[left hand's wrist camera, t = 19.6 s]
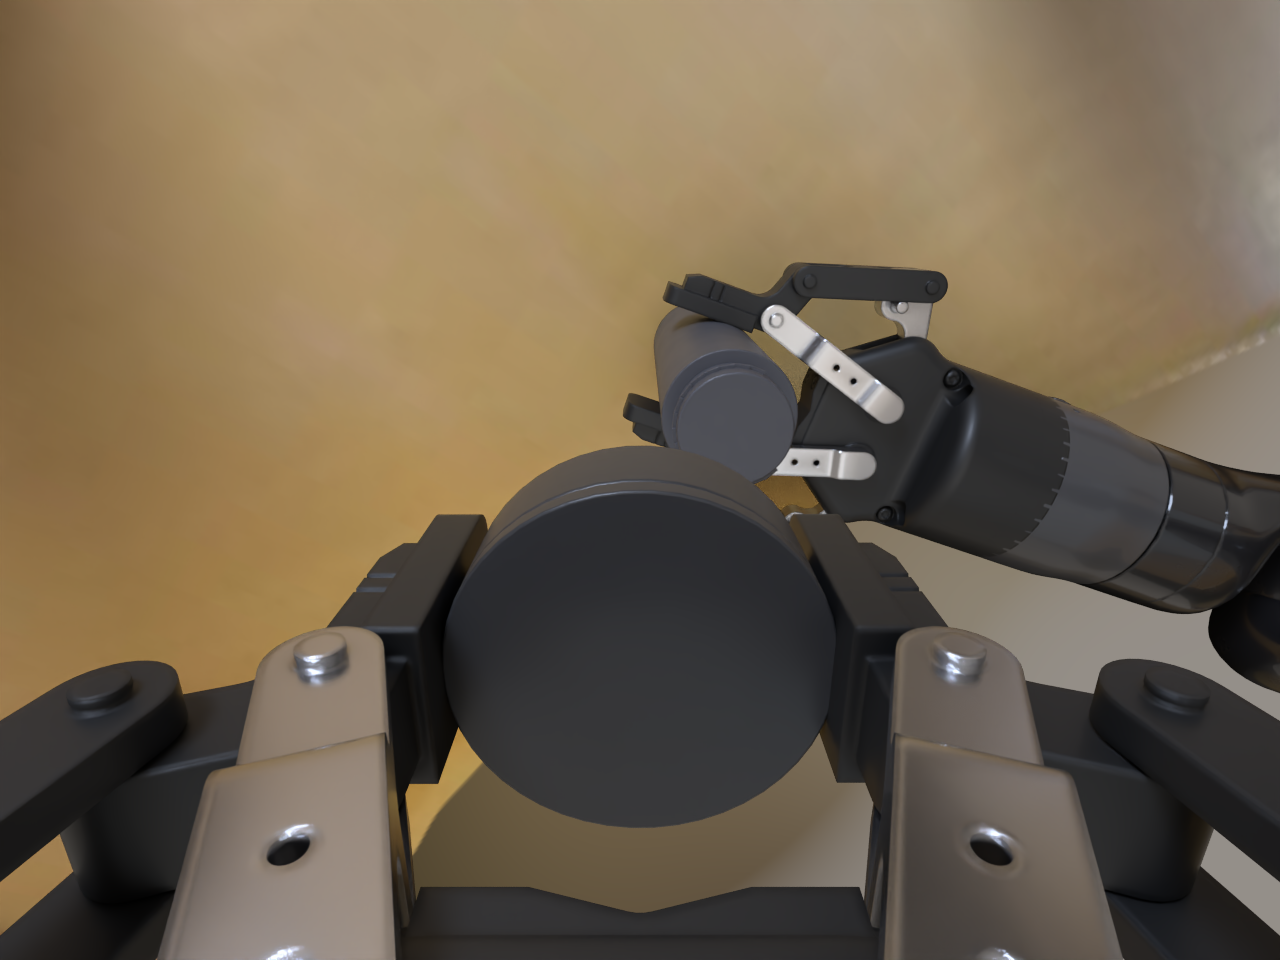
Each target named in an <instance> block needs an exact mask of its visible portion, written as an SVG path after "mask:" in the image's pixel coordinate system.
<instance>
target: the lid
mask: <svg viewBox="0 0 1280 960" xmlns="http://www.w3.org/2000/svg"><path fill="white" fill-rule="evenodd" d="M835 645H836V626H835V621H834V617H833V614H832V612H831V609H830V606H829V604H828V601H827V598H826V596H825V594H824V592H823V590H822V588H821V586H820V584H819V582H818V580H817V578H816V575H815V573H814V571H813V569H812V567H811V565H810V563H809V561H808V559H807V557H806V555H805V553H804V551H803V549H802V547H801V545H800V543H799V541H798V539H797V537H796V535H795V533H794V532H793V530H792V528H791V526H790V525H789V523H788V521H787V519H786V518H785V517H784V515H783V514H782V513H781V512H780V510H779V509H778V508H777V506H776V505H775V504H774V503H773V501H771V500H770V499H769V498H768V497H767V496H766V495H765V494H764V493H763V492H762V491H761V490H760V489H759V488H758V487H757V486H756V485H754V484H753V483H751V482H750V481H749V480H747V479H746V478H745V477H743V476H742V475H740V474H739V473H737V472H735V471H734V470H732V469H730V468H728V467H726V466H724V465H723V464H721V463H719V462H716V461H714V460H711V459H708V458H706V457H703V456H701V455H698V454H694V453H690V452H686V451H682V450H678V449H674V448H665V447H656V446H623V447H616V448H609V449H602V450H598V451H595V452H591V453H587V454H584V455H580V456H577V457H575V458H572V459H570V460H568V461H565V462H563V463H560V464H558V465H556V466H554V467H553V468H551V469H549V470H548V471H546V472H544V473H542V474H541V475H539V476H537V477H536V478H535V479H533V480H532V481H531V482H530V483H528V484H527V485H526V486H524V487H523V488H522V489H520V491H519V492H518V493H517V494H516V495H515V496H514V497H513V498H512V499H511V500H510V501H509V502H508V503H507V504H506V505H505V506H504V507H503V509H502V510H501V511H500V513H499V514H498V515H497V517H496V518H495V520H494V521H493V522H492V524H491V526H490V528H489V530H488V532H487V534H486V535H485V537H484V539H483V541H482V543H481V545H480V547H479V549H478V551H477V553H476V555H475V557H474V559H473V562H472V564H471V566H470V568H469V570H468V572H467V574H466V576H465V578H464V580H463V582H462V584H461V586H460V588H459V590H458V592H457V594H456V596H455V598H454V601H453V604H452V606H451V609H450V612H449V615H448V618H447V621H446V626H445V631H444V637H443V642H442V665H443V674H444V683H445V691H446V694H447V698H448V702H449V705H450V709H451V711H452V713H453V716H454V718H455V720H456V722H457V724H458V727H459V729H460V731H461V732H462V734H463V735H464V737H465V739H466V740H467V742H468V743H469V745H470V747H471V748H472V749H473V751H474V752H475V753H476V754H477V755H478V757H479V758H480V759H481V760H482V761H483V763H484V764H485V765H486V766H487V767H488V768H489V769H490V770H491V771H492V772H494V773H495V774H496V775H497V776H498V777H499V778H500V779H501V780H502V781H504V782H505V783H506V784H508V785H509V786H510V787H512V788H513V789H515V790H516V791H517V792H519V793H520V794H522V795H523V796H525V797H527V798H529V799H531V800H532V801H534V802H536V803H538V804H539V805H542V806H544V807H546V808H548V809H551V810H553V811H555V812H558V813H560V814H563V815H566V816H569V817H573V818H576V819H579V820H582V821H586V822H592V823H596V824H602V825H607V826H617V827H628V828H655V827H664V826H673V825H680V824H684V823H689V822H694V821H699V820H702V819H705V818H709V817H712V816H715V815H718V814H721V813H724V812H726V811H728V810H730V809H732V808H735V807H737V806H739V805H741V804H744V803H745V802H747V801H749V800H750V799H752V798H754V797H756V796H757V795H759V794H761V793H762V792H764V791H765V790H767V789H768V788H769V787H770V786H772V785H773V784H775V783H776V782H777V781H778V780H780V779H781V778H782V777H783V776H784V775H785V774H786V773H787V772H788V771H790V770H791V769H792V768H793V767H794V766H795V765H796V764H797V763H798V762H799V760H800V759H801V758H802V757H803V755H804V754H805V753H806V752H807V750H808V749H809V748H810V747H811V745H812V744H813V742H814V740H815V739H816V737H817V735H818V734H819V732H820V730H821V729H822V727H823V725H824V723H825V720H826V718H827V715H828V708H829V699H830V690H831V681H832V672H833V663H834V654H835Z"/></svg>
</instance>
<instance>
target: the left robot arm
mask: <svg viewBox="0 0 1280 960" xmlns="http://www.w3.org/2000/svg"><path fill="white" fill-rule="evenodd" d="M789 525H790V526H791V528H792V530H793V532H794V533H795V535H796V537H797V539H798V541H799V543H800V545H801V547H802V549H803V551H804V553H805V555H806V557H807V559H808V561H809V563H810V565H811V567H812V569H813V571H814V573H815V575H816V578H817V580H818V582H819V584H820V586H821V588H822V590H823V592H824V594H825V596H826V598H827V601H828V604H829V606H830V609H831V612H832V614H833V617H834V621H835V626H836V645H835V654H834V663H833V672H832V681H831V690H830V699H829V708H828V715H827V718H826V720H825V723H824V725H823V727H822V729H821V730H820V732H819V733H820V735H821V738H822V741H823V744H824V747H825V750H826V753H827V756H828V759H829V761H830V764H831V767H832V770H833V773H834V776H835V779H836V781H837V783H866V786H867V788H868V791H869V793H870V796H871V798H872V801H873V810H872V817H871V825H870V837H869V849H868V860H867V872H866V884H865V896H864V900H863V897H862V894H861V891H860V888H859V887H750V888H746V889H742V890H738V891H733V892H729V893H725V894H721V895H717V896H714V897H709V898H705V899H701V900H697V901H693V902H689V903H685V904H681V905H677V906H673V907H669V908H665V909H661V910H657V911H653V912H647V913H634V912H628V911H624V910H619V909H615V908H611V907H607V906H603V905H599V904H595V903H591V902H587V901H583V900H579V899H575V898H571V897H567V896H563V895H559V894H555V893H550V892H547V891H542V890H538V889H534V888H530V887H421V888H420V891H419V894H418V897H417V900H416V896H415V884H414V872H413V860H412V848H411V837H410V825H409V817H408V810H407V803H406V796H405V793H406V791H407V789H408V786H409V784H438V783H439V780H440V777H441V774H442V771H443V769H444V766H445V763H446V760H447V757H448V755H449V752H450V749H451V746H452V743H453V741H454V738H455V735H456V732H457V729H458V724H457V722H456V720H455V718H454V716H453V713H452V711H451V709H450V705H449V702H448V698H447V694H446V691H445V683H444V674H443V665H442V642H443V637H444V631H445V626H446V621H447V618H448V615H449V612H450V609H451V606H452V604H453V601H454V598H455V596H456V594H457V592H458V590H459V588H460V586H461V584H462V582H463V580H464V578H465V576H466V574H467V572H468V570H469V568H470V566H471V564H472V562H473V559H474V557H475V555H476V553H477V551H478V549H479V547H480V545H481V543H482V541H483V539H484V537H485V535H486V534H487V532H488V528H487V523H486V519H485V517H484V515H437V516H436V517H435V518H434V520H433V521H432V523H431V524H430V526H429V527H428V528H427V530H426V531H425V533H424V534H423V536H422V537H421V539H420V540H419V542H418V543H404V544H402V545H400V546H399V547H397V548H395V549H394V550H392V551H390V552H389V553H387V554H385V555H384V556H382V557H380V558H379V560H378V561H377V562H376V564H375V565H374V566H373V568H372V569H371V570H370V571H369V573H368V574H367V578H364V579H363V581H362V582H361V583H360V585H359V586H358V587H357V588H356V592H353V594H352V595H351V596H350V598H349V599H348V600H347V602H346V603H345V604H344V605H343V607H342V608H341V609H340V611H339V612H338V613H337V615H336V616H335V617H334V618H333V620H332V621H331V622H330V624H329V625H328V626H327V628H323V629H318V630H314V631H311V632H307V633H304V634H301V635H299V636H296V637H294V638H291V639H289V640H287V641H285V642H284V643H282V644H280V645H279V646H277V647H275V648H274V649H273V650H272V651H270V652H269V653H268V654H267V655H266V656H265V657H264V658H263V659H262V661H261V662H260V664H259V666H258V669H257V672H256V677H255V680H252V681H249V682H245V683H241V684H236V685H231V686H226V687H221V688H215V689H210V690H205V691H199V692H194V693H189V694H183V693H182V689H181V685H180V682H179V678H178V674H177V672H176V670H175V669H174V668H173V667H171V666H170V665H167V664H165V663H161V662H157V661H132V662H124V663H119V664H114V665H110V666H106V667H102V668H99V669H96V670H93V671H90V672H87V673H84V674H82V675H79V676H77V677H75V678H72V679H70V680H68V681H66V682H64V683H62V684H60V685H59V686H57V687H55V688H53V689H52V690H50V691H48V692H47V693H45V694H43V695H42V696H40V697H38V698H37V699H35V700H34V701H32V702H30V703H29V704H27V705H25V706H24V707H22V708H21V709H19V710H17V711H16V712H14V713H12V714H11V715H9V716H7V717H6V718H4V719H3V720H1V721H0V882H1V881H2V880H3V879H4V878H6V877H7V876H8V875H9V874H11V873H12V872H13V871H14V870H16V869H17V868H18V867H19V866H20V865H22V864H23V863H24V862H25V861H27V860H28V859H29V858H30V857H32V856H33V855H34V854H35V853H37V852H38V851H39V850H40V849H41V848H43V847H44V846H45V845H46V844H48V843H49V842H50V841H51V840H53V839H54V838H55V837H56V836H58V835H59V834H60V836H61V839H62V842H63V844H64V847H65V850H66V853H67V855H68V858H69V861H70V863H71V866H72V869H73V871H74V872H72V873H71V874H70V875H69V876H68V877H67V878H66V879H64V880H63V881H62V882H61V883H60V884H59V885H58V886H56V887H55V888H54V889H53V890H52V891H51V892H50V893H48V894H47V895H46V896H45V897H44V898H43V899H42V900H40V901H39V902H38V903H37V904H36V905H35V906H34V907H32V908H31V909H30V910H29V911H28V912H27V913H26V914H24V915H23V916H22V917H21V918H20V919H19V920H18V921H16V922H15V923H14V924H13V925H12V926H11V927H10V928H8V929H7V930H6V931H5V932H4V933H3V934H2V935H0V960H156V958H157V960H1123V958H1124V960H1280V936H1279V935H1278V934H1277V933H1276V932H1275V931H1274V930H1273V929H1272V928H1270V927H1269V926H1268V925H1267V924H1266V923H1265V922H1264V921H1262V920H1261V919H1260V918H1259V917H1258V916H1257V915H1256V914H1254V913H1253V912H1252V911H1251V910H1250V909H1249V908H1248V907H1246V906H1245V905H1244V904H1243V903H1242V902H1241V901H1240V900H1238V899H1237V898H1236V897H1235V896H1234V895H1233V894H1232V893H1230V892H1229V891H1228V890H1227V889H1226V888H1225V887H1224V886H1222V885H1221V884H1220V883H1219V882H1218V881H1217V880H1216V879H1214V878H1213V877H1212V876H1211V875H1210V874H1209V873H1208V872H1206V871H1205V870H1204V869H1203V868H1202V867H1201V866H1200V865H1201V863H1202V860H1203V857H1204V855H1205V852H1206V849H1207V846H1208V844H1209V841H1210V838H1211V835H1212V833H1213V830H1214V829H1215V830H1216V831H1218V832H1219V833H1220V834H1221V835H1223V836H1224V837H1225V838H1226V839H1227V840H1229V841H1230V842H1231V843H1232V844H1234V845H1235V846H1236V847H1237V848H1239V849H1240V850H1241V851H1242V852H1244V853H1245V854H1246V855H1247V856H1248V857H1250V858H1251V859H1252V860H1253V861H1255V862H1256V863H1257V864H1258V865H1260V866H1261V867H1262V868H1263V869H1264V870H1266V871H1267V872H1268V873H1269V874H1271V875H1272V876H1273V877H1274V878H1276V879H1277V880H1278V881H1279V882H1280V721H1279V720H1277V719H1276V718H1274V717H1273V716H1271V715H1269V714H1268V713H1266V712H1264V711H1263V710H1261V709H1259V708H1258V707H1256V706H1255V705H1253V704H1251V703H1250V702H1248V701H1246V700H1245V699H1243V698H1241V697H1240V696H1238V695H1237V694H1235V693H1233V692H1232V691H1230V690H1228V689H1227V688H1225V687H1223V686H1222V685H1220V684H1218V683H1216V682H1215V681H1213V680H1211V679H1208V678H1206V677H1204V676H1202V675H1200V674H1197V673H1195V672H1192V671H1190V670H1187V669H1184V668H1181V667H1178V666H1175V665H1171V664H1167V663H1162V662H1157V661H1152V660H1143V659H1122V660H1116V661H1113V662H1110V663H1108V664H1106V665H1105V666H1104V667H1103V668H1102V669H1101V671H1100V673H1099V677H1098V681H1097V684H1096V688H1095V692H1094V694H1091V693H1086V692H1081V691H1075V690H1070V689H1065V688H1059V687H1054V686H1049V685H1043V684H1039V683H1034V682H1029V681H1026V680H1025V677H1024V672H1023V669H1022V666H1021V664H1020V662H1019V661H1018V659H1017V658H1016V657H1015V656H1014V655H1013V654H1012V653H1011V652H1010V651H1008V650H1007V649H1006V648H1005V647H1003V646H1001V645H1000V644H998V643H996V642H995V641H993V640H990V639H989V638H986V637H984V636H981V635H979V634H976V633H973V632H969V631H966V630H961V629H957V628H950V627H948V626H947V624H946V623H945V622H944V620H943V619H942V618H941V616H940V615H939V614H938V613H937V611H936V610H935V609H934V607H933V606H932V605H931V603H930V602H929V601H928V599H927V598H926V597H925V595H924V594H923V593H922V592H921V591H919V587H918V586H917V585H916V583H915V582H914V581H913V579H912V578H911V577H908V573H907V571H906V570H905V569H904V567H903V566H902V565H901V563H900V562H899V561H898V560H897V558H896V557H895V556H893V555H891V554H890V553H888V552H886V551H885V550H883V549H881V548H880V547H878V546H877V545H875V544H873V543H858V542H857V540H856V539H855V537H854V536H853V534H852V533H851V531H850V530H849V528H848V527H847V525H846V524H845V522H844V521H843V519H842V518H841V516H840V515H839V514H793V515H792V517H791V519H790V523H789Z"/></svg>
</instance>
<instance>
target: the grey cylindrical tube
mask: <svg viewBox="0 0 1280 960" xmlns="http://www.w3.org/2000/svg"><path fill="white" fill-rule="evenodd" d="M654 355H655V364H656V374H657V384H658V393H659V403H660V413H661V422H662V430H663V434H664V438H665V440H666V443H667V445H668V447H669V448H674V449H678V450H682V451H686V452H690V453H694V454H698V455H701V456H703V457H706V458H708V459H711V460H714V461H716V462H719V463H721V464H723V465H724V466H726V467H728V468H730V469H732V470H734V471H735V472H737V473H739V474H740V475H742V476H743V477H745V478H746V479H747V480H749V481H750V482H751V483H753V484H756V483H758V482H760V481H762V480H766V479H767V478H769V477H770V476H771V475H773V474H774V473H775V472H776V471H778V469H777V467H778V466H779V465H780V464H781V462H782V461H783V460H784V458H785V457H786V455H787V453H788V452H789V450H790V447H791V445H792V441H793V437H794V433H795V430H796V426H797V419H798V405H797V399H796V395H795V392H794V389H793V387H792V385H791V383H790V381H789V379H788V378H787V376H786V375H785V374H784V372H783V371H782V370H781V369H780V368H779V367H778V366H777V365H776V364H775V363H774V362H773V361H772V360H771V359H770V358H769V357H768V356H767V355H766V354H765V352H764V351H763V350H762V349H761V348H760V347H759V346H758V345H757V344H756V343H755V342H754V341H753V340H752V339H751V338H750V337H749V336H748V335H747V334H746V333H745V332H744V331H743V330H742V329H739V328H736V327H734V326H731V325H728V324H725V323H722V322H719V321H717V320H714V319H711V318H708V317H705V316H703V315H700V314H697V313H694V312H692V311H689V310H686V309H683V308H680V307H677V308H675V309H673V310H672V311H671V312H669V313H668V314H667V315H666V316H665V317H664V319H663V320H662V321H661V323H660V325H659V326H658V329H657V331H656V334H655V339H654Z"/></svg>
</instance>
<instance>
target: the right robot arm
mask: <svg viewBox="0 0 1280 960" xmlns="http://www.w3.org/2000/svg"><path fill="white" fill-rule="evenodd" d="M947 288H948V283H947V279H946V277H945V276H944V275H943V274H942V273H940V272H936V271H929V270H923V269H916V268H902V267H881V266H861V265H840V264H819V263H793V264H791V265H789V266H788V267H787V268H786V269H785V271H784V273H783V276H782V277H781V278H780V280H779V281H778V282H777V283H776V284H775V286H774V287H773V288H772V289H771V290H769V291H768V292H766V293H762V294H754V293H751V292H748V291H745V290H742V289H740V288H737V287H734V286H731V285H729V284H726V283H723V282H721V281H718V280H715V279H712V278H710V277H707V276H704V275H701V274H686V276H685V279H684V282H683V285H679V284H676V283H673V282H670V281H668V284H667V287H666V290H665V293H664V296H663V300H664V301H665V302H668V303H670V304H672V305H675V306H678V307H680V308H683V309H686V310H689V311H692V312H694V313H697V314H700V315H703V316H705V317H708V318H711V319H714V320H717V321H719V322H722V323H725V324H728V325H731V326H734V327H736V328H739V329H742V330H744V331H747V332H750V333H752V331H753V329H754V328H755V329H758V330H760V331H763V332H766V333H767V334H768V335H770V336H771V337H772V338H773V339H775V340H776V341H777V342H779V343H780V344H781V345H782V346H784V347H785V348H786V349H788V350H789V351H790V352H791V353H793V354H794V355H795V356H797V357H798V358H799V359H800V360H802V361H803V362H804V363H805V364H807V365H808V366H809V369H808V371H807V374H806V376H805V378H804V381H803V384H802V391H801V397H800V401H799V402H798V404H797V405H798V419H797V426H796V430H795V433H794V437H793V441H792V445H791V447H790V450H789V452H788V453H787V455H786V457H785V458H784V460H783V461H782V462H781V464H780V465H779V466H778V467H777V469H778V471H776V472H775V473H774V474H773V475H780V476H802V478H803V479H804V481H805V482H806V484H807V485H808V487H809V489H810V490H811V492H812V493H813V495H814V496H815V498H816V499H817V501H818V502H819V503H818V504H817V505H816V506H814V507H812V508H807V509H806V508H801V507H799V506H797V505H788V506H786V507H784V508H783V509H782V510H780V512H781V513H782V514H783V515H784V517H785V518H786V519H787V521H788V523H790V519H791V517H792V515H793V514H839V515H840V516H841V518H842V519H843V521H844V522H845V523H850V522H856V521H874V522H877V523H880V524H883V525H886V526H888V527H891V528H894V529H897V530H901V531H903V532H906V533H909V534H912V535H915V536H918V537H921V538H925V539H927V540H930V541H933V542H936V543H940V544H942V545H945V546H949V547H951V548H954V549H957V550H960V551H963V552H966V553H969V554H972V555H975V556H978V557H981V558H984V559H987V560H990V561H993V562H996V563H999V564H1002V565H1005V566H1008V567H1011V568H1014V569H1017V570H1020V571H1024V572H1027V573H1031V574H1035V575H1040V576H1045V577H1051V578H1057V579H1062V580H1066V581H1070V582H1074V583H1076V584H1079V585H1082V586H1085V587H1088V588H1091V589H1094V590H1097V591H1100V592H1103V593H1106V594H1109V595H1112V596H1115V597H1118V598H1121V599H1124V600H1127V601H1130V602H1133V603H1137V604H1139V605H1143V606H1146V607H1149V608H1152V609H1155V610H1159V611H1164V612H1169V613H1176V614H1193V613H1200V612H1204V611H1207V610H1210V609H1212V612H1211V615H1210V618H1209V626H1208V632H1209V638H1210V640H1211V642H1212V645H1213V647H1214V648H1215V650H1216V651H1217V653H1218V654H1219V656H1220V657H1221V658H1222V659H1223V660H1224V661H1225V662H1226V663H1227V664H1228V665H1229V666H1230V667H1231V668H1232V669H1233V670H1234V671H1236V672H1237V673H1239V674H1240V675H1241V676H1243V677H1244V678H1246V679H1248V680H1250V681H1251V682H1253V683H1255V684H1257V685H1260V686H1262V687H1264V688H1267V689H1270V690H1273V691H1275V692H1278V693H1280V475H1275V474H1265V473H1256V472H1250V471H1244V470H1239V469H1234V468H1229V467H1225V466H1222V465H1218V464H1214V463H1211V462H1207V461H1204V460H1202V459H1199V458H1196V457H1193V456H1191V455H1188V454H1185V453H1182V452H1180V451H1177V450H1174V449H1172V448H1169V447H1166V446H1163V445H1161V444H1158V443H1155V442H1152V441H1150V440H1147V439H1144V438H1142V437H1139V436H1137V435H1134V434H1132V433H1131V432H1129V431H1127V430H1125V429H1123V428H1122V427H1120V426H1118V425H1116V424H1114V423H1113V422H1111V421H1109V420H1107V419H1105V418H1102V417H1100V416H1098V415H1095V414H1093V413H1091V412H1088V411H1085V410H1083V409H1080V408H1077V407H1074V406H1072V405H1070V404H1069V403H1067V402H1065V401H1064V400H1061V399H1058V398H1054V397H1047V396H1044V395H1042V394H1039V393H1036V392H1033V391H1031V390H1028V389H1025V388H1022V387H1020V386H1017V385H1014V384H1012V383H1009V382H1006V381H1003V380H1001V379H998V378H995V377H992V376H990V375H987V374H984V373H981V372H979V371H976V370H973V369H971V368H968V367H965V366H962V365H960V364H957V363H954V362H951V361H949V360H947V359H946V358H944V357H943V356H942V355H941V354H940V352H939V351H938V350H937V348H936V347H935V346H934V344H932V343H931V342H930V341H929V340H927V334H928V328H929V323H930V317H931V312H932V306H933V303H935V302H937V301H939V300H941V299H942V298H943V297H944V295H945V294H946V291H947ZM811 298H826V299H847V300H868V301H875V302H874V307H875V310H876V312H877V314H878V315H880V316H881V317H884V318H886V319H889V320H892V321H893V322H894V323H895V324H896V326H897V334H896V335H893V336H889V337H886V338H882V339H879V340H875V341H872V342H869V343H865V344H862V345H858V346H855V347H852V348H848V349H845V350H841V351H840V350H839V349H838V348H837V347H835V346H834V345H833V344H832V343H830V342H829V341H828V340H826V339H825V338H824V337H822V336H821V335H820V334H818V333H817V332H816V331H814V330H813V329H812V328H811V327H809V326H808V325H807V324H806V323H804V322H803V321H802V320H801V319H799V318H798V317H797V316H796V315H797V314H798V313H799V312H800V311H801V310H802V308H803V307H804V306H805V305H806V304H807V303H808V302H809V300H810V299H811ZM623 417H624V418H626V419H627V420H629V421H632V422H633V432H634V433H635V434H636V435H637V436H639V437H640V438H641V439H642V440H645V441H648V442H651V443H655V444H657V445H660V446H664V447H666V448H669V447H668V445H667V443H666V440H665V438H664V434H663V430H662V422H661V413H660V403H659V402H658V401H655V400H652V399H649V398H646V397H643V396H640V395H637V394H633V393H629V395H628V397H627V400H626V403H625V406H624V410H623Z"/></svg>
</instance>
